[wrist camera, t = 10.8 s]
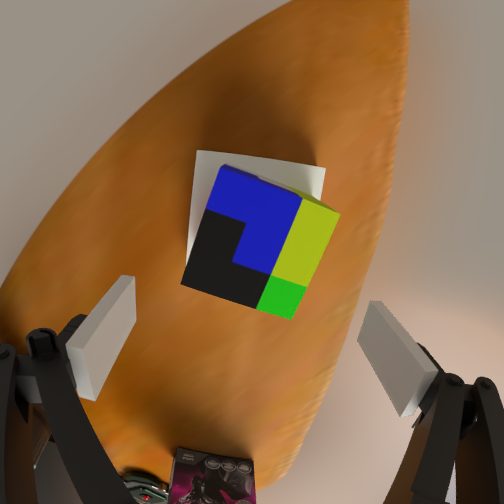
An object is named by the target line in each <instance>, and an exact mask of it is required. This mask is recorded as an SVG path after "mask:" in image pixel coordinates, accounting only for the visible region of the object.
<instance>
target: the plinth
mask: <svg viewBox="0 0 504 504" xmlns="http://www.w3.org/2000/svg"><path fill="white" fill-rule="evenodd" d="M225 163H228V164H231V165H234V166H236V167H239V168H242V169H245V170H247V171H250V172H253V173H256V174H258V175H261V176H263V177H266V178H269V179H271V180H274V181H276V182H279V183H282V184H284V185H287V186H289V187H292V188H294V189H297V190H299V191H302V192H304V193H306V194H309V195H311V196H313V197H315V198H316V199H318V200H320V198H321V193H322V187H323V181H324V175H325V169H326V168H322V167H317V166H311V165H306V164H300V163H294V162H288V161H282V160H276V159H269V158H262V157H255V156H248V155H240V154H232V153H223V152H214V151H204V150H197V155H196V163H195V172H194V181H193V190H192V200H191V210H190V221H189V232H188V245H187V259H186V265H187V262H188V258H189V255H190V252H191V249H192V246H193V243H194V240H195V237H196V234H197V231H198V228H199V225H200V222H201V219H202V216H203V213H204V211H205V208H206V205H207V202H208V199H209V196H210V193H211V191H212V188H213V185H214V182H215V180H216V177H217V174H218V171H219V169H220V167H221V166H222V165H224V164H225Z"/></svg>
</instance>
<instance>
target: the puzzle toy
mask: <svg viewBox="0 0 504 504" xmlns="http://www.w3.org/2000/svg"><path fill="white" fill-rule="evenodd" d="M339 217H340V214H339V213H338V212H336V211H335V210H333V209H332V208H330V207H329V206H327V205H326V204H324V203H323V202H321V201H320V200H318V199H316V198H315V197H313V196H311V195H309V194H306V193H304V192H302V191H299V190H297V189H294V188H292V187H289V186H287V185H284V184H282V183H279V182H276V181H274V180H271V179H269V178H266V177H263V176H261V175H258V174H256V173H253V172H250V171H247V170H245V169H242V168H239V167H236V166H234V165H231V164H228V163H225V164H224V165H222V166H221V167H220V169H219V171H218V174H217V177H216V180H215V182H214V185H213V188H212V191H211V193H210V196H209V199H208V202H207V205H206V208H205V211H204V213H203V216H202V219H201V222H200V225H199V228H198V231H197V234H196V237H195V240H194V243H193V246H192V249H191V252H190V255H189V258H188V262H187V265H186V268H185V271H184V274H183V278H182V281H181V285H184V286H187V287H190V288H193V289H196V290H199V291H202V292H205V293H208V294H211V295H214V296H217V297H220V298H223V299H226V300H229V301H232V302H235V303H238V304H242V305H245V306H248V307H251V308H254V309H257V310H261V311H264V312H267V313H271V314H274V315H277V316H280V317H284V318H287V319H292V317H293V315H294V313H295V311H296V309H297V307H298V305H299V303H300V301H301V299H302V297H303V295H304V293H305V291H306V289H307V287H308V285H309V283H310V280H311V278H312V276H313V274H314V272H315V270H316V268H317V266H318V263H319V261H320V259H321V257H322V255H323V253H324V250H325V248H326V246H327V244H328V242H329V239H330V237H331V235H332V233H333V230H334V228H335V226H336V223H337V221H338V219H339Z"/></svg>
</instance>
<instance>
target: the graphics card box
mask: <svg viewBox="0 0 504 504" xmlns="http://www.w3.org/2000/svg"><path fill="white" fill-rule="evenodd" d="M253 462H254V461H251V460H243V459H236V458H229V457H222V456H216V455H211V454H205V453H201V452H195V451H190V450H186V449H181V448H177V450H176V453H175V456H174V459H173V464H172V470H171V477H170V484H169V493H168V500H167V504H256V494H255V478H254V463H253Z"/></svg>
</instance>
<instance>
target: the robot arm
mask: <svg viewBox="0 0 504 504" xmlns="http://www.w3.org/2000/svg"><path fill="white" fill-rule="evenodd" d="M135 322H136V300H135V277H134V276H127V275H121V276H120V278H119V279H118V280H117V281H116V282H115V283H114V285H113V286H112V287H111V288H110V289H109V290H108V292H107V293H106V294H105V295H104V296H103V298H102V299H101V300H100V301H99V303H98V304H97V305H96V306H95V307H94V309H93V310H92V311H91V312H90V314H89V315H83V314H79V315H77V316H76V317H74V318H72V319H71V320H70V322H69V323H68V324H67V326H65V327H64V329H63V331H61V332H60V333H59V335H58V336H57V334H56V333H55V331H53V330H51V329H48V328H38V329H35V330H33V331H31V332H30V333H29V334H28V335H27V336H26V343H27V346H28V350H29V353H30V355H19V354H17V353H16V350H15V348H14V347H13V346H12V345H10V344H7V343H2V344H0V504H38V500H37V492H36V484H35V475H34V469H35V468H36V464H37V461H38V459H39V457H40V455H41V453H42V451H43V449H44V447H45V445H46V443H47V441H48V439H49V437H50V435H51V433H52V434H53V437H54V440H55V442H56V445H57V447H58V450H59V453H60V455H61V457H62V460H63V462H64V465H65V467H66V469H67V471H68V473H69V475H70V478H71V480H72V482H73V484H74V486H75V488H76V490H77V492H78V494H79V496H80V498H81V500H82V502H83V504H139V503H138V502H137V501H136V500H135V499H134V497H133V496H132V494H131V493H130V491H129V490H128V488H127V487H126V485H125V484H124V482H123V481H122V479H121V477H120V476H119V474H118V473H117V471H116V469H115V468H114V466H113V464H112V463H111V461H110V459H109V457H108V456H107V454H106V452H105V450H104V449H103V447H102V445H101V443H100V441H99V439H98V437H97V436H96V434H95V432H94V430H93V428H92V426H91V424H90V422H89V420H88V417H87V415H86V413H85V411H84V409H83V407H82V405H81V402H80V400H79V398H78V395H77V393H76V391H75V389H76V387H77V391H78V394H79V397H82V398H85V399H89V400H93V401H96V399H97V397H98V395H99V393H100V391H101V389H102V386H103V384H104V382H105V380H106V378H107V376H108V374H109V372H110V370H111V368H112V366H113V364H114V362H115V360H116V358H117V356H118V354H119V353H120V351H121V349H122V347H123V345H124V343H125V341H126V339H127V337H128V335H129V333H130V332H131V330H132V328H133V326H134V324H135ZM357 341H358V343H359V344H360V346H361V348H362V350H363V351H364V353H365V355H366V357H367V358H368V360H369V362H370V363H371V365H372V367H373V369H374V371H375V372H376V374H377V376H378V378H379V380H380V381H381V383H382V385H383V387H384V389H385V390H386V392H387V394H388V396H389V397H390V400H391V401H392V403H393V405H394V407H395V409H396V411H397V413H398V414H399V416H400V417H405V416H411V415H413V414H414V412H415V411H416V409H417V408H418V406H419V407H420V409H421V410H422V412H421V413H420V415H419V417H418V418H417V420H416V421H415V423H414V424H413V426H412V428H414V426H415V428H414V431H413V434H412V437H411V440H410V442H409V445H408V448H407V451H406V454H405V456H404V458H403V461H402V463H401V465H400V468H399V471H398V473H397V475H396V477H395V480H394V482H393V484H392V486H391V488H390V491H389V492H388V494H387V496H386V499H385V501H384V503H383V504H450V503H448V502H445V498H446V494H447V491H448V487H449V484H450V479H451V475H452V471H453V466H454V462H455V470H456V504H504V408H503V405H502V402H501V399H500V396H499V393H498V390H497V388H496V386H495V384H494V383H493V382H492V380H491V379H489V378H486V377H478V378H477V379H476V381H475V383H474V384H473V385H469V384H465V383H464V381H463V380H462V379H461V378H460V377H459V376H457V375H455V374H452V373H445V372H444V370H443V369H442V368H441V367H440V365H439V364H438V363H437V362H436V360H434V358H433V357H432V356H431V355H430V353H429V352H428V351H427V350H426V348H425V347H423V346H422V345H420V344H419V343H416V342H415V341H414V339H413V338H412V337H411V336H410V335H409V333H408V332H407V331H406V330H405V329H404V327H403V326H402V325H401V324H400V323H399V322H398V321H397V319H396V318H395V317H394V316H393V314H392V313H391V312H390V311H389V310H388V309H387V307H386V306H385V305H384V304H383V303H382V302H381V301H370V303H369V306H368V309H367V312H366V315H365V318H364V322H363V324H362V327H361V331H360V333H359V336H358V340H357ZM476 419H477V421H476Z"/></svg>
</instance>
